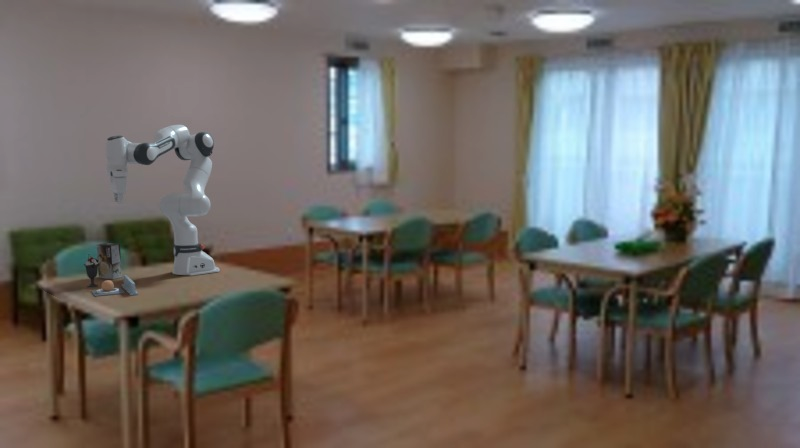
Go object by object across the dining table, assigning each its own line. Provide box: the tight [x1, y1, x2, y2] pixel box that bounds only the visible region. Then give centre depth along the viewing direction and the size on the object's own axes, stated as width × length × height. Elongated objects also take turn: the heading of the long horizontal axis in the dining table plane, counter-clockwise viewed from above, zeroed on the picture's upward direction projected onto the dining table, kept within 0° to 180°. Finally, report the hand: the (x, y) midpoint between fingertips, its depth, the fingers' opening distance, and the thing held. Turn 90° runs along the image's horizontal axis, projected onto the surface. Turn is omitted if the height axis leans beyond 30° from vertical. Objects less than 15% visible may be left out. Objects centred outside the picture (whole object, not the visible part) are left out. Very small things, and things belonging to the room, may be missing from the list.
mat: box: [90, 287, 126, 297], centre depth 330 cm, size 12×12×1 cm
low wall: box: [121, 274, 139, 296], centre depth 334 cm, size 3×22×5 cm, turn 29°
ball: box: [101, 279, 115, 292], centre depth 330 cm, size 5×5×5 cm
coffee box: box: [96, 242, 123, 280], centre depth 361 cm, size 9×6×16 cm
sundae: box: [83, 254, 99, 288], centre depth 342 cm, size 7×7×15 cm
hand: (118, 202), depth 345 cm, fingers open, 8 cm apart
